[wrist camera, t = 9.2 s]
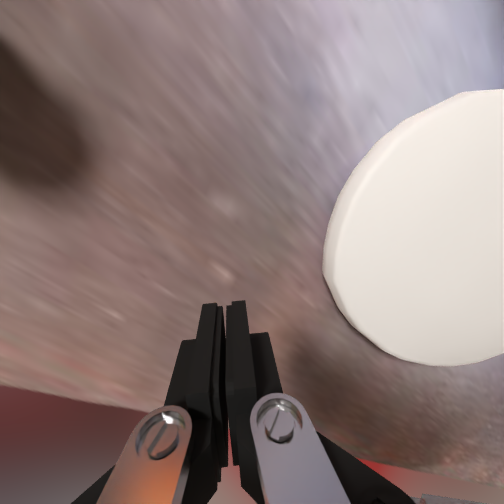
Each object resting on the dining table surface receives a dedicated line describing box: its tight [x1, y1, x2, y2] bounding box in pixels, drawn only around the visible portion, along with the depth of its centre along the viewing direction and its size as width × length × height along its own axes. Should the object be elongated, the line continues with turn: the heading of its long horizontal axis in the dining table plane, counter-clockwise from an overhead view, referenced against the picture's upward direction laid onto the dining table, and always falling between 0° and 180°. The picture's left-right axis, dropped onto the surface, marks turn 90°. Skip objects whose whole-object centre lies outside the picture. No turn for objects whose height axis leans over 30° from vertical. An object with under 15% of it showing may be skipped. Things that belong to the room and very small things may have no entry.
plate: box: [322, 89, 504, 366], centre depth 24 cm, size 28×6×27 cm
